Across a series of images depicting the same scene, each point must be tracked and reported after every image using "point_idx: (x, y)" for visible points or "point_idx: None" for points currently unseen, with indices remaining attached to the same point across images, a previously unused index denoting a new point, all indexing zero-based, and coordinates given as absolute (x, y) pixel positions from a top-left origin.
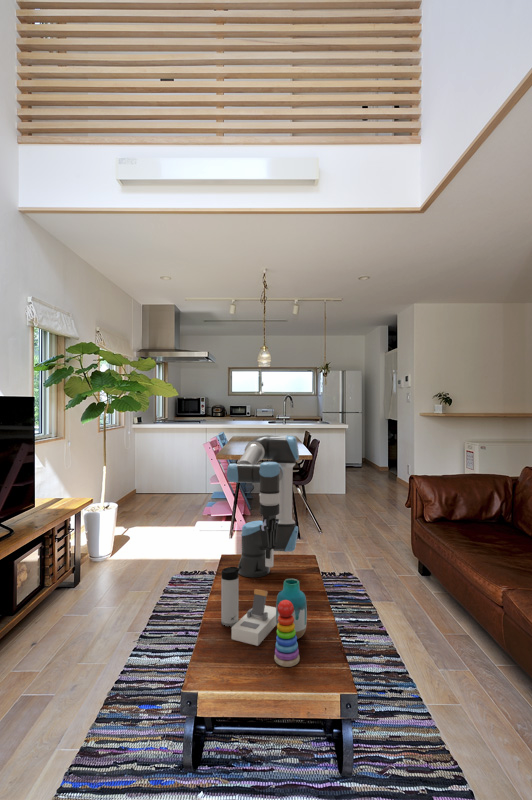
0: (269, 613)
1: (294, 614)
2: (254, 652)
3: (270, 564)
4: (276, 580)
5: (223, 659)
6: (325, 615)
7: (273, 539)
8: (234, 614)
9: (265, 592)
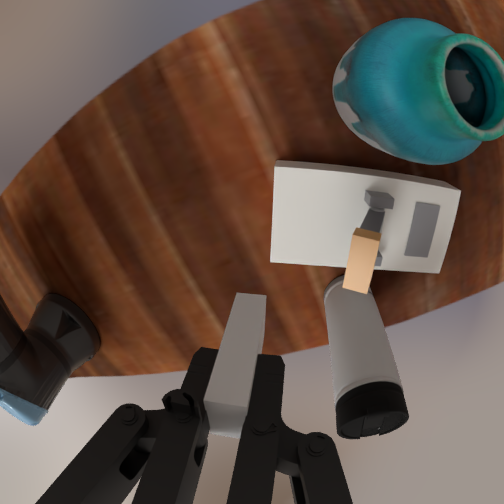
0: (329, 195)
1: (460, 72)
2: (469, 181)
3: (263, 317)
4: (66, 265)
5: (495, 240)
6: (186, 39)
7: (167, 486)
8: (369, 296)
9: (379, 239)
